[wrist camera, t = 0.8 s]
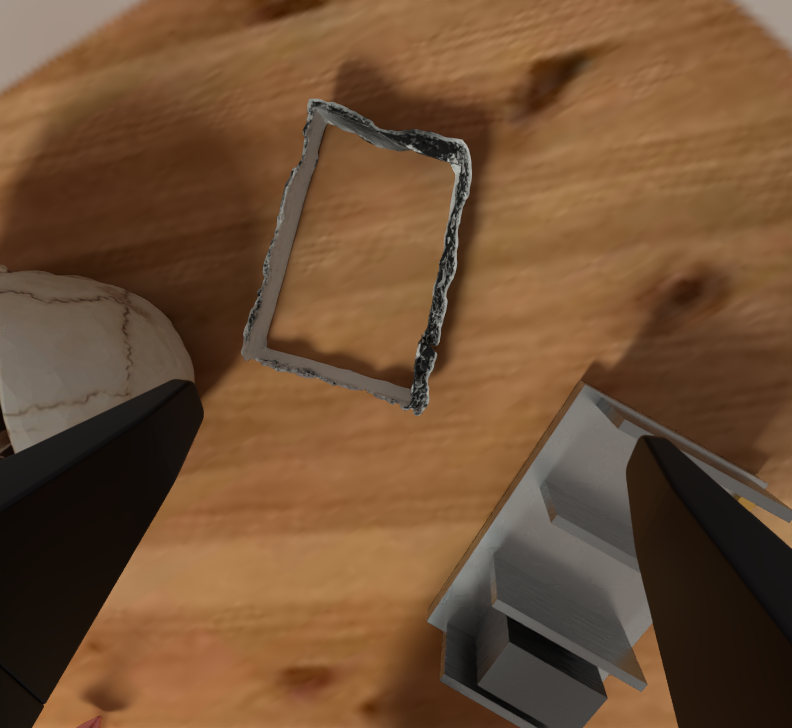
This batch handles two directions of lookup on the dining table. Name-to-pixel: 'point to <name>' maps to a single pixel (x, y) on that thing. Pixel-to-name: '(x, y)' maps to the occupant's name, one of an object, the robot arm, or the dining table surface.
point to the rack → (563, 571)
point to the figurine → (92, 723)
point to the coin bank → (76, 353)
